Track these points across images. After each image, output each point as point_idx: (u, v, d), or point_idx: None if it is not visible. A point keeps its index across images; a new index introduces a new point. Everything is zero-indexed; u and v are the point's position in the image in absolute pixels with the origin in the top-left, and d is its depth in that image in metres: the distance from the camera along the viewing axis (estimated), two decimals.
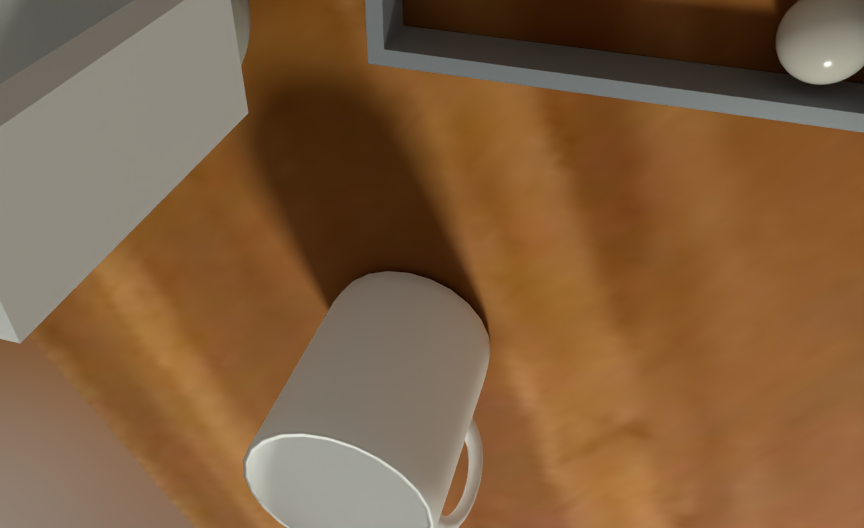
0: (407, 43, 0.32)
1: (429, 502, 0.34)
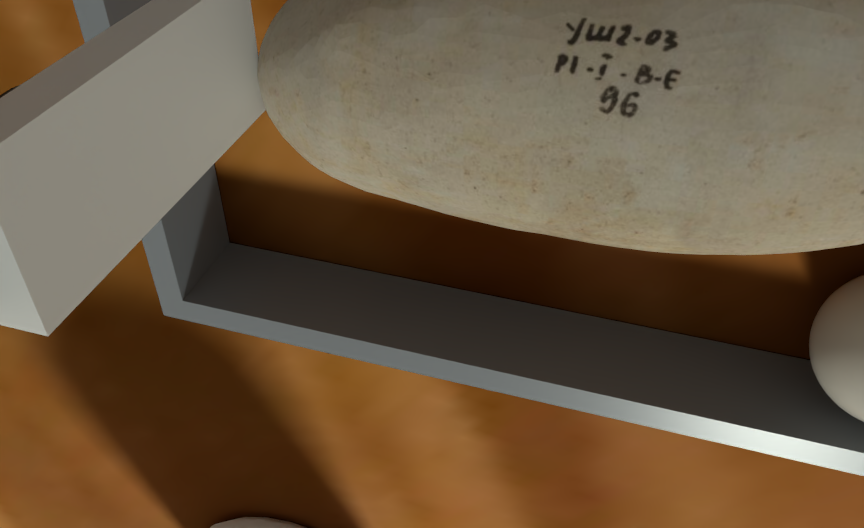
0: (225, 284, 0.20)
1: None
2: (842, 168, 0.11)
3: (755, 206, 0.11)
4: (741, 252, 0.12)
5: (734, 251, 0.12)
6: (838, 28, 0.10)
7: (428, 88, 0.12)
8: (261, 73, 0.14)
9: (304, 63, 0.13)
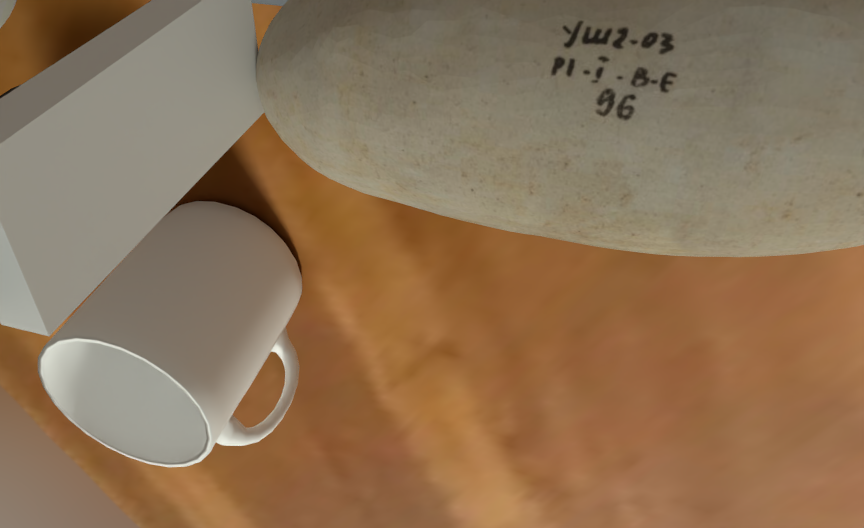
0: None
1: (199, 401, 0.36)
2: (837, 171, 0.11)
3: (752, 208, 0.11)
4: (738, 254, 0.12)
5: (731, 253, 0.12)
6: (834, 31, 0.10)
7: (425, 90, 0.12)
8: (259, 75, 0.14)
9: (302, 66, 0.13)
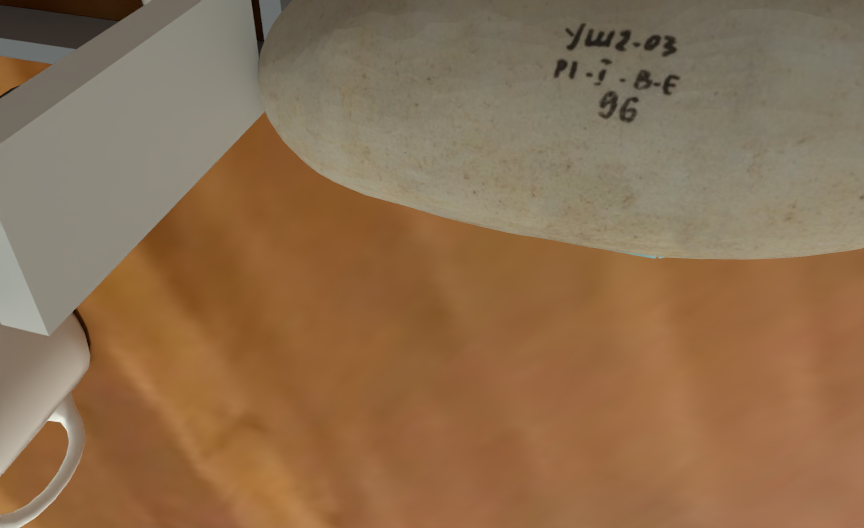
0: None
1: None
2: (841, 174, 0.11)
3: (755, 211, 0.11)
4: (740, 257, 0.12)
5: (733, 256, 0.12)
6: (837, 33, 0.10)
7: (428, 93, 0.12)
8: (261, 77, 0.14)
9: (303, 68, 0.13)
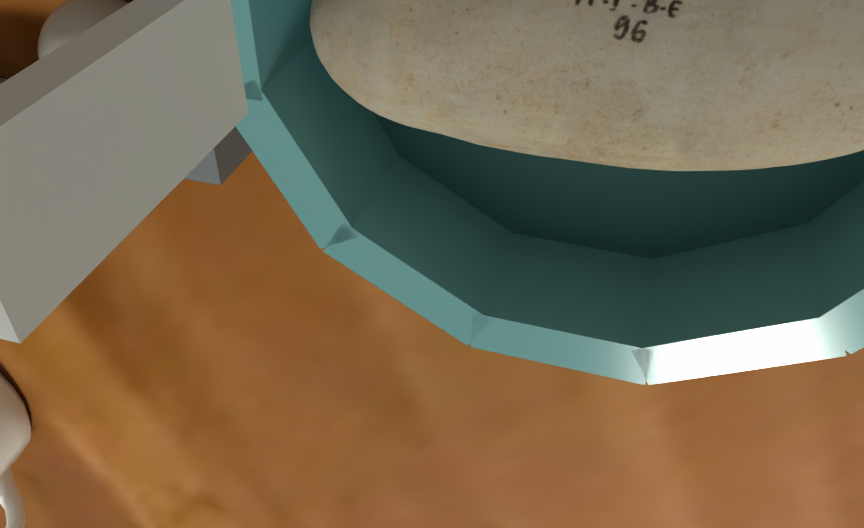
0: None
1: None
2: (819, 83, 0.13)
3: (746, 120, 0.13)
4: (735, 165, 0.14)
5: (728, 164, 0.14)
6: None
7: (466, 22, 0.13)
8: (315, 19, 0.16)
9: (356, 6, 0.15)
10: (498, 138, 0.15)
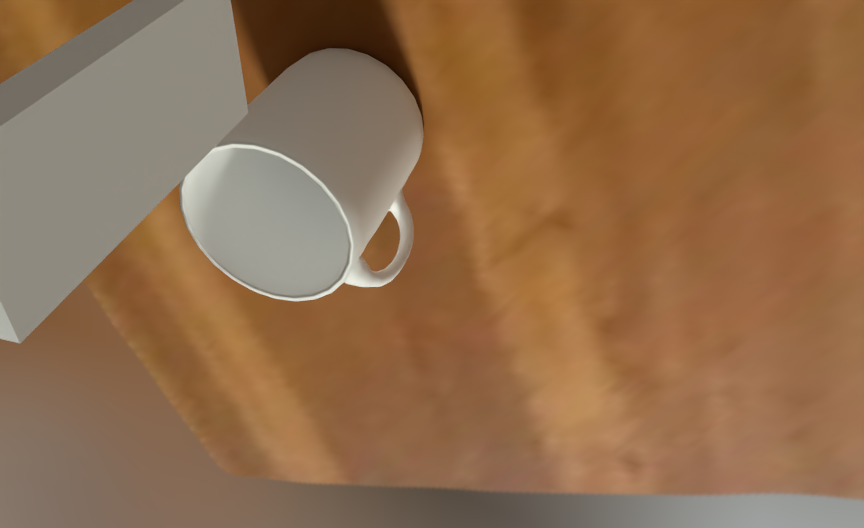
0: None
1: (349, 217, 0.36)
2: None
3: None
4: None
5: None
6: None
7: None
8: None
9: None
10: None
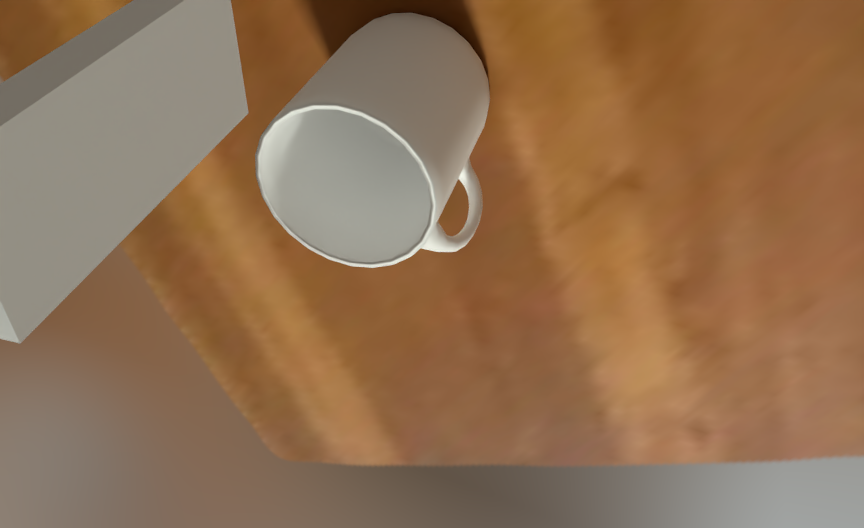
0: None
1: (432, 176, 0.36)
2: None
3: None
4: None
5: None
6: None
7: None
8: None
9: None
10: None
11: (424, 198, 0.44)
